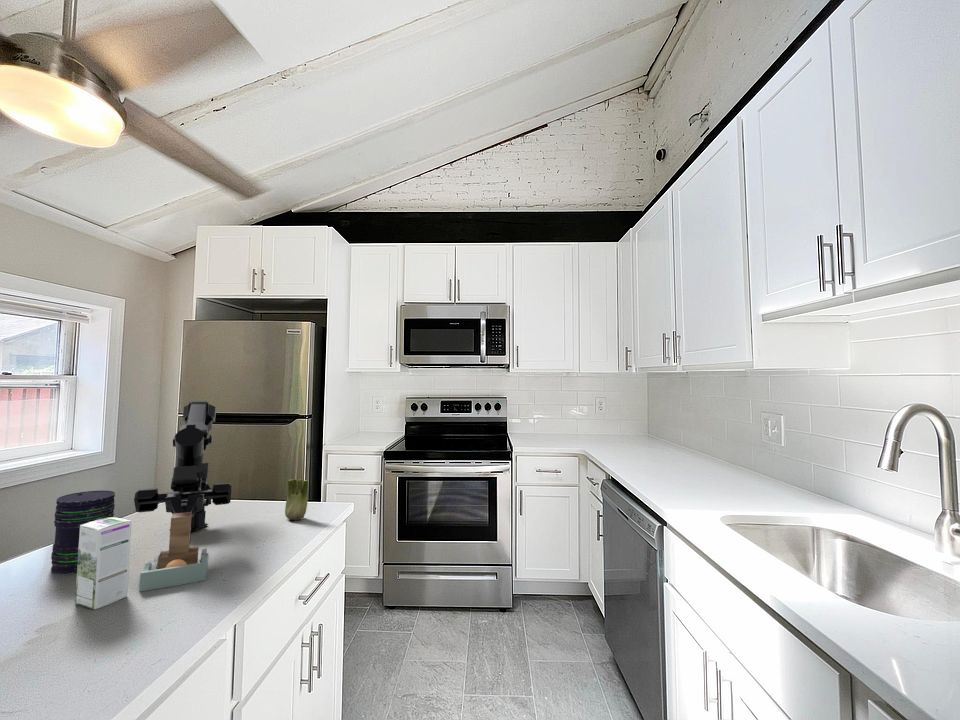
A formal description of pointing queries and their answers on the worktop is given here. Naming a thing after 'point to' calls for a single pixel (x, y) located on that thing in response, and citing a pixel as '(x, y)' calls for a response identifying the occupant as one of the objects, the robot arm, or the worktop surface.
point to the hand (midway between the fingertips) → (181, 530)
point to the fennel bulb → (296, 500)
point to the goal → (172, 575)
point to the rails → (155, 561)
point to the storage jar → (76, 525)
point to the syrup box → (103, 562)
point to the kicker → (179, 542)
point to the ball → (176, 563)
